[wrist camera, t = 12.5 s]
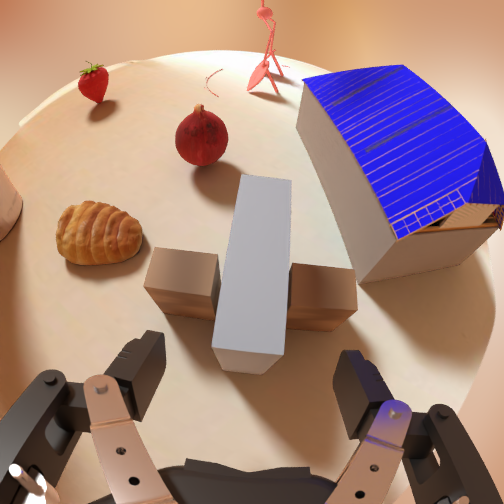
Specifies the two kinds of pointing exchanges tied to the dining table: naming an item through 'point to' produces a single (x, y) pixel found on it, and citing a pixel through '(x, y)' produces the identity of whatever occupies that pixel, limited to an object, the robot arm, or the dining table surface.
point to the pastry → (97, 234)
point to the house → (399, 171)
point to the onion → (201, 137)
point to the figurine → (264, 65)
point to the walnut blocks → (209, 284)
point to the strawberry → (94, 83)
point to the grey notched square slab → (255, 278)
